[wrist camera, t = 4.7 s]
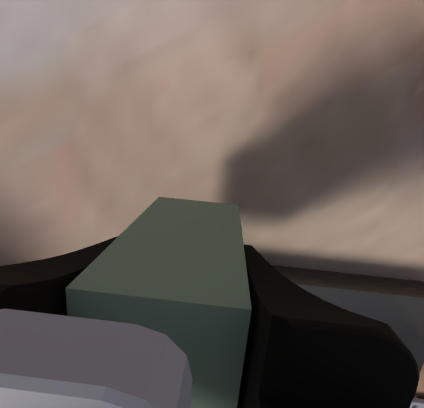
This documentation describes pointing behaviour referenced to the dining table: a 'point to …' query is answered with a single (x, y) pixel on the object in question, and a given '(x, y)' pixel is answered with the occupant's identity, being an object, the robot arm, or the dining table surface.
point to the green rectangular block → (178, 289)
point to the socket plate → (371, 300)
